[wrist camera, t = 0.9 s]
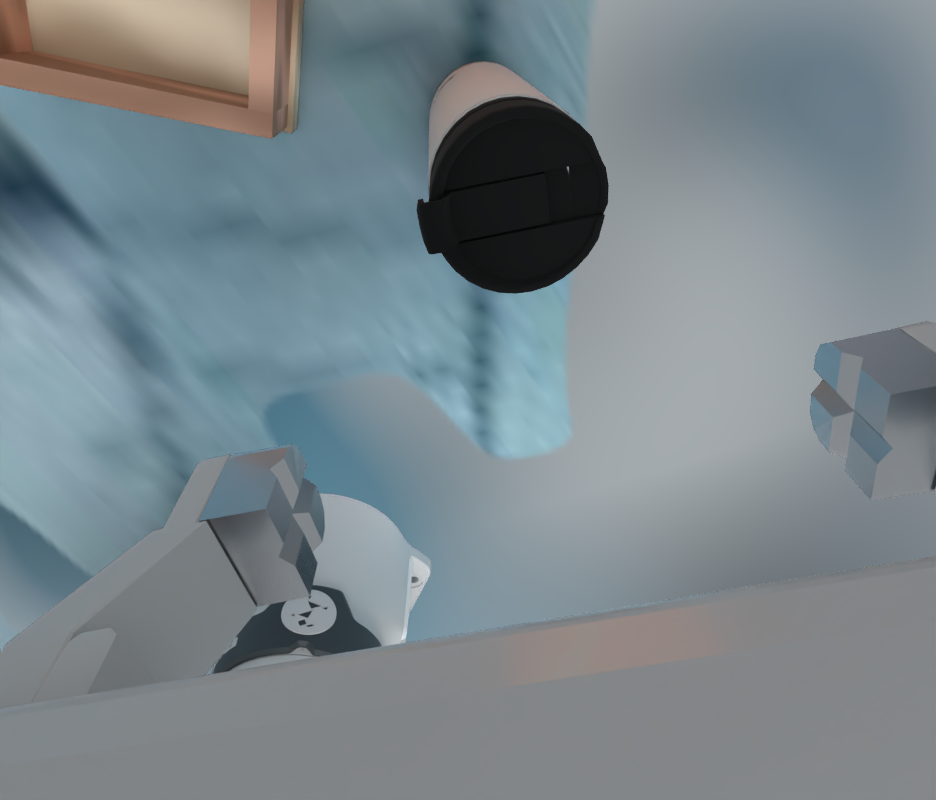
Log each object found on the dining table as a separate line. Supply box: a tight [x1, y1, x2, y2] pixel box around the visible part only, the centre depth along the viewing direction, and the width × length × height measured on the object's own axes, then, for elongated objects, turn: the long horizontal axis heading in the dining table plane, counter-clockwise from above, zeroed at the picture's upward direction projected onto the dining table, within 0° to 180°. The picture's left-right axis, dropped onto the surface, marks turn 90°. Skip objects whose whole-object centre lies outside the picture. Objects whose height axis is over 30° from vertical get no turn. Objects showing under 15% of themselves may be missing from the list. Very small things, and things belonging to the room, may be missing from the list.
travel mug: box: [417, 61, 608, 293], centre depth 29 cm, size 6×7×20 cm
